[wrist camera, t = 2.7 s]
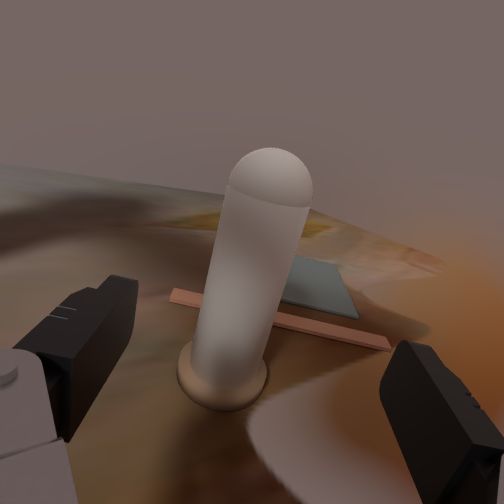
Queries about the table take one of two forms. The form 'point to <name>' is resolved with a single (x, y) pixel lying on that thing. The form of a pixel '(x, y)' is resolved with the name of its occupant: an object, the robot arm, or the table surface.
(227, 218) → the skittle
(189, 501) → the table surface
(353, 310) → the mat
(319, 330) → the distance line
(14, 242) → the table surface
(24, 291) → the table surface
